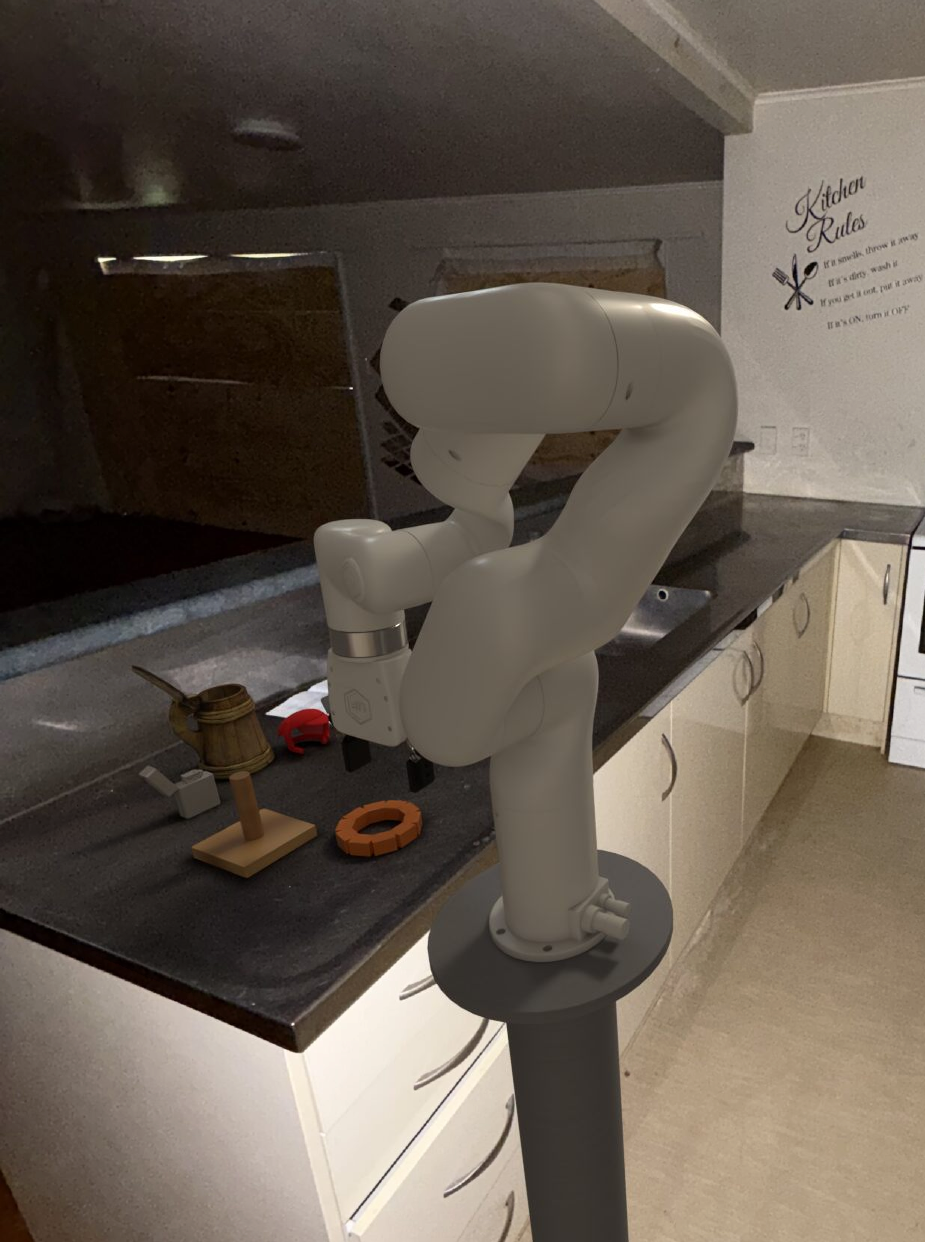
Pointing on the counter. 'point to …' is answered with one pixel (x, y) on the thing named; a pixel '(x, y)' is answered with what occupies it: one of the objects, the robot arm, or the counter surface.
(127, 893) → the counter surface
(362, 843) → the ring
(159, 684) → the wooden mug
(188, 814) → the lighter
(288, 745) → the red helmet
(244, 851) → the stand
